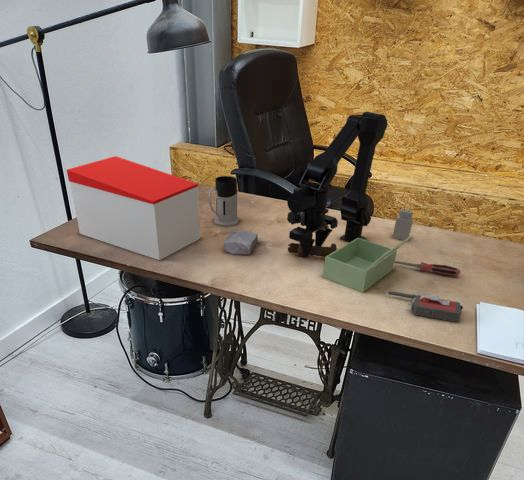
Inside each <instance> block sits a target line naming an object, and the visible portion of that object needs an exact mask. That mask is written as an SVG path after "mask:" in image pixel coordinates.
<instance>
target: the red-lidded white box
mask: <svg viewBox="0 0 524 480" xmlns="http://www.w3.org/2000/svg"><path fill="white" fill-rule="evenodd" d="M66 174H67V179H68V180H67V181H68V182H69V186H70V190H71V195H72V200H73V205H74V211H75V215H76V216H75V217H76V221H77V226H78V231H79V235H82V236H86V237H88V238H92V239H95V240H98V241H101V242H104V243H106V244H110V245H112V246H116V247H117V248H121V249H124V250H127V251H131V252H132V253H133V252H134V253H136V254H139V255H141V256H145V257H148V258H152V259H155V260H157V261H161V260H163V259H165V258H166V257H168V256H170V255H172V254H174V253H177V252H178V251H179V250H181V249H183V248H185V247H187V246H189V245H191V244H193V243H194V242H197V241H199V240H200V239H201V230H200V229H201V227H200V204H199V184H198V183H197V182H194V181H191V180H188V179H185V178H182V177H179V176H177V175H173V174H171V173H167V172H164V171H162V170H158V169H156V168H152V167H149V166H146V165H144V164H141V163H138V162H134V161H131V160H129V159H125V158H123V157H120V156H116V155H115V156H111V157H108V158H105V159H104V158H103V159H101V160H96V161H93V162H90V163H85V164H82V165H78V166H75V167H72V168H68V169H66Z"/></svg>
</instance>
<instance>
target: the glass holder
mask: <svg viewBox="0 0 524 480" xmlns="http://www.w3.org/2000/svg"><path fill="white" fill-rule="evenodd" d="M214 180H215V183H214V184H215V185H214V187H212V188H210V189H209V192H208V204H209V208H210V210H211V211H212V213H213V214H215V218H214V223H215V224H217V225H219V226H223V227H225V226H235V225H237V224H238V223H239V219H238V179H237V178H236V177H234V176H230V175H222V176H217V177H215V179H214ZM213 191H214V192H215V193H214V202H215V203H214V207H215V210H214V208H213V206H212V205H213V204H212V200H211V197H212V196H211V195H212V192H213Z"/></svg>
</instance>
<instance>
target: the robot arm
mask: <svg viewBox="0 0 524 480" xmlns="http://www.w3.org/2000/svg"><path fill="white" fill-rule="evenodd" d="M388 125H389V124H388V119H387V116H386V115H385V114H381V113H377V112H372V111H368V110H367V111H364V112H363V113H361V114H350V115H348V116H347V118H346V121H345V124H344V125H343V126H342V128H340V130H339V131H338V133H337V134H336V135H335V137H334V138H333V139H332V141H331V142H330V144H329V145H328V147H327V148H326V149H325V150H324V151H323V152H321V153H319V154H317V155H316V156H315V157H313V158H312V160H311V161H310V162H309V163H308V165H307V167H306V169H305V171H304V173H303V174H302V176H301V178H300V180H299V182H298V186H299V187H295V188H293V192H292V193H290V194H289V196H288V198H287V199H286V203H287V207H288V209H289V212H287V218H286V221H287V222H288V223H289V224H290V225H295V224H296V225H297V224H300V226H296V227H294V228H292V229H291V230H290V231H289V233H288V238H289V239H290V240H292V241H295V242H298V243H300V244H301V247H302V251H303V255H304V257H303V258H308V257H309V256H310V255H309V253H310V250H311V248H312V246H319V247H323V245H324V244H325V242H326V240H327V239H328V237H329V236H330V235H331V233H332V232H333V229H336V228H337V227H338V225H339V221H338V219H337V217H335V216H332V215H328V214H329V209H328V208H327V204H328V203H327V202H328V194H329V190H332V189H333V188H334V186H333V185H332V184H331V183H332V181H333V180H334V178H335V177H336V174H337V173H338V167H339V166H338V165H339V163H340V161H341V160H342V158H343V157H344V156H345V154H346V153H347V151H348V150H349V149H350V147H351V146H352V145H353V143H354V142H355V141H356V139H358V142H359V147H358V151H357V156H356V160H355V165H354V170H353V175H352V180H351V185H350V189H349V192H348V193H347V194H346V195H343V196H342V198H341V203H340V204H341V205H340V207H339V210H340V220H341V221H345V223H346V224H345V229H344V234H343V235H342V236H340V240H343V241H346V242H348V243H350V242H351V241H353V240H355V239H357V238H360V239H364V240H366V237H365V236H363V228H364V227H368V225H370V223H371V220H372V216H371V214H370V212H369V211H368V206H369V201H368V198H367V194H366V191H367V187H368V182H369V179H370V174H371V171H372V165H373V161H374V156H375V151H376V148H377V146H378V144H379V143H380V142H381V141H382V139H383V138H384V136H385V133H386V130H387V127H388ZM301 226H302V227H301ZM304 227H305V228H304ZM314 234H315V235H314ZM313 236H314V238H313Z"/></svg>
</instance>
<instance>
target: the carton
mask: <svg viewBox="0 0 524 480" xmlns="http://www.w3.org/2000/svg"><path fill="white" fill-rule="evenodd" d="M392 248H393V247H390V246H389V247H388V246H385V245H382V244H379V243H376V242H373V241H369V240H366V239H360V238H357V239H355V240H353V241H351V242H348V243H346V244H345V245H343V246H341V247H340V248H337V249H336V251H334V252H333V253H331V254H329V255H328V256H326V257H324V265H323V273H322V277H323V278H325V279H327V280H330V281H333V282H336V283H338V284H341V285H343V286H345V287H349V288H351V289H354V290H357V291H359V292H362V293H364V292H365V291H366V290H368V289H369V288H370V287H372V286H373V285H375V284H376V283H377V282H378V281H380V280H381V279H382V278H384V277H385V276H386V275H388V274H389V273H390V272H392V271H393V270H394V266H395V263H394V262H395V261H396V257H397V252H398V249H397V250H396V251H394V252H393V253H391V254H390V255H388V256H387V257H386V258H384V259H383V260H381V261H380V262H378V263H377V264H375V265H374V266H373V267H371V268H370V269H367V268H368V267H369V266H371V265H372V264H373V263H374V262H375V261H376V260H378V259H379V258H380V257H381V256H382V255H383V254H385V253H386V252H388V251H389V250H391V249H392Z"/></svg>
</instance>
